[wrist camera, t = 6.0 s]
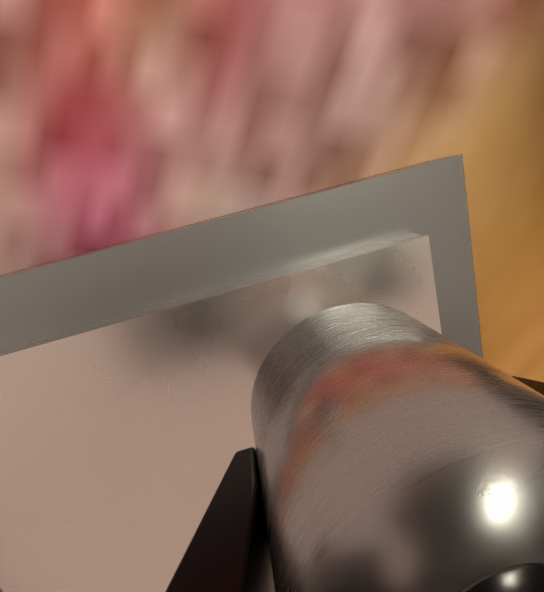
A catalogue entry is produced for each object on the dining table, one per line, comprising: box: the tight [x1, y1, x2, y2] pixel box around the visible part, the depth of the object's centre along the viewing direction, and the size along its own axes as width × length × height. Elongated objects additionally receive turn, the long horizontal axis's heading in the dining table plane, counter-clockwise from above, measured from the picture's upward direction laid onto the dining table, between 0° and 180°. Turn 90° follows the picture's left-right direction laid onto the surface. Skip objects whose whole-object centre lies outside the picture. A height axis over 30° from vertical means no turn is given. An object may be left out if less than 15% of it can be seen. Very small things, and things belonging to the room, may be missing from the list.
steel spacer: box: [251, 303, 544, 592], centre depth 6 cm, size 5×5×5 cm
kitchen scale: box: [0, 154, 483, 592], centre depth 13 cm, size 24×20×6 cm
